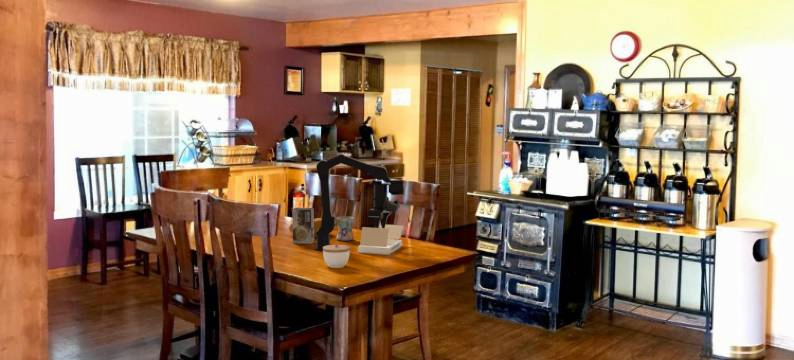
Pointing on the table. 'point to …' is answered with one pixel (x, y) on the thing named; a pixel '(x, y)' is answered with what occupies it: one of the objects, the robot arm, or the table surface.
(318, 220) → the bread
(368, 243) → the near flap
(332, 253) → the lidded jar
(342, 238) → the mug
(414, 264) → the table surface
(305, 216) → the coffee box
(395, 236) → the far flap
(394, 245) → the carton
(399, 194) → the robot arm
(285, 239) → the table surface
